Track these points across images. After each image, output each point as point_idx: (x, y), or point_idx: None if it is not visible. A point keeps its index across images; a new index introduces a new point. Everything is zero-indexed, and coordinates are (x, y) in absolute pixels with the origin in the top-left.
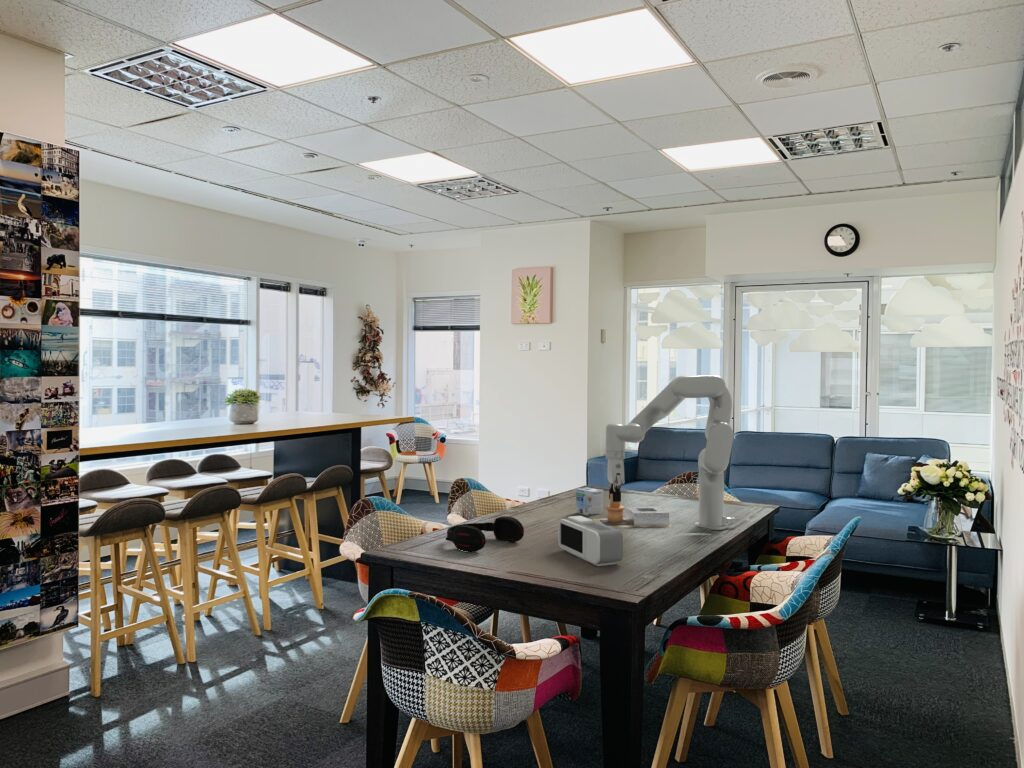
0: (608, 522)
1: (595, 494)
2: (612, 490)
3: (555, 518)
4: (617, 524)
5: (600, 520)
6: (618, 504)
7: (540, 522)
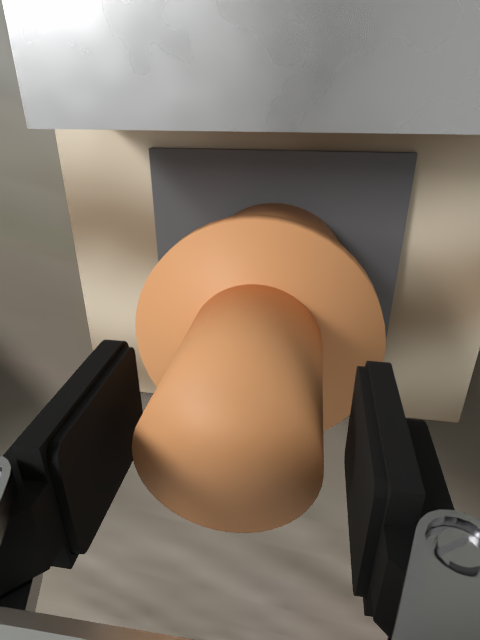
0: None
1: None
2: (83, 510)
3: None
4: (395, 285)
5: None
6: (317, 343)
7: (152, 613)
